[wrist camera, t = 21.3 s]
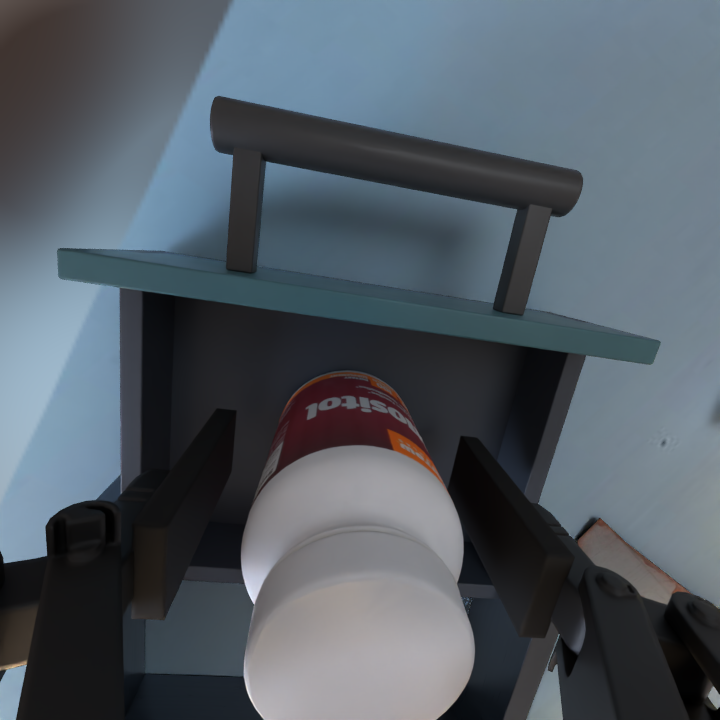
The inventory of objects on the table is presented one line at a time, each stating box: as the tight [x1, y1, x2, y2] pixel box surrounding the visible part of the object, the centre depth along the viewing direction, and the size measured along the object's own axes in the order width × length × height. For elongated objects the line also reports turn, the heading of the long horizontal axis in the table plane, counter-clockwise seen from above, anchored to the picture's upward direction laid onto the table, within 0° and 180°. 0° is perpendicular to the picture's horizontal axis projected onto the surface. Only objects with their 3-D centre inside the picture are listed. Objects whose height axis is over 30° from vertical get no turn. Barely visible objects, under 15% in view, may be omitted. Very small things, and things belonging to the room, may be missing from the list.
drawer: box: [57, 96, 660, 599], centre depth 15 cm, size 18×18×6 cm
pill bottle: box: [241, 370, 475, 720], centre depth 13 cm, size 6×6×11 cm
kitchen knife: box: [577, 518, 692, 604], centre depth 23 cm, size 21×2×5 cm
